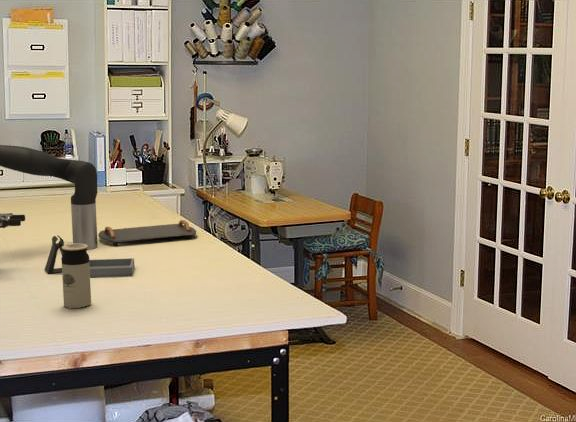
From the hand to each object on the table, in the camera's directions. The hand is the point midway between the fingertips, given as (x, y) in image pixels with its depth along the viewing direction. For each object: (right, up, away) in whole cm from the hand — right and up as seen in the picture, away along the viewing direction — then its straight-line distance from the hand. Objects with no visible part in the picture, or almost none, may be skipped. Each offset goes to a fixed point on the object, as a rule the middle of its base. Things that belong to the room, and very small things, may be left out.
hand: (22, 220), depth 313 cm
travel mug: (+27, -25, -37) cm, 53 cm away
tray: (+29, -18, +2) cm, 34 cm away
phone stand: (+11, -18, +4) cm, 22 cm away
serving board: (+33, -8, +58) cm, 68 cm away
